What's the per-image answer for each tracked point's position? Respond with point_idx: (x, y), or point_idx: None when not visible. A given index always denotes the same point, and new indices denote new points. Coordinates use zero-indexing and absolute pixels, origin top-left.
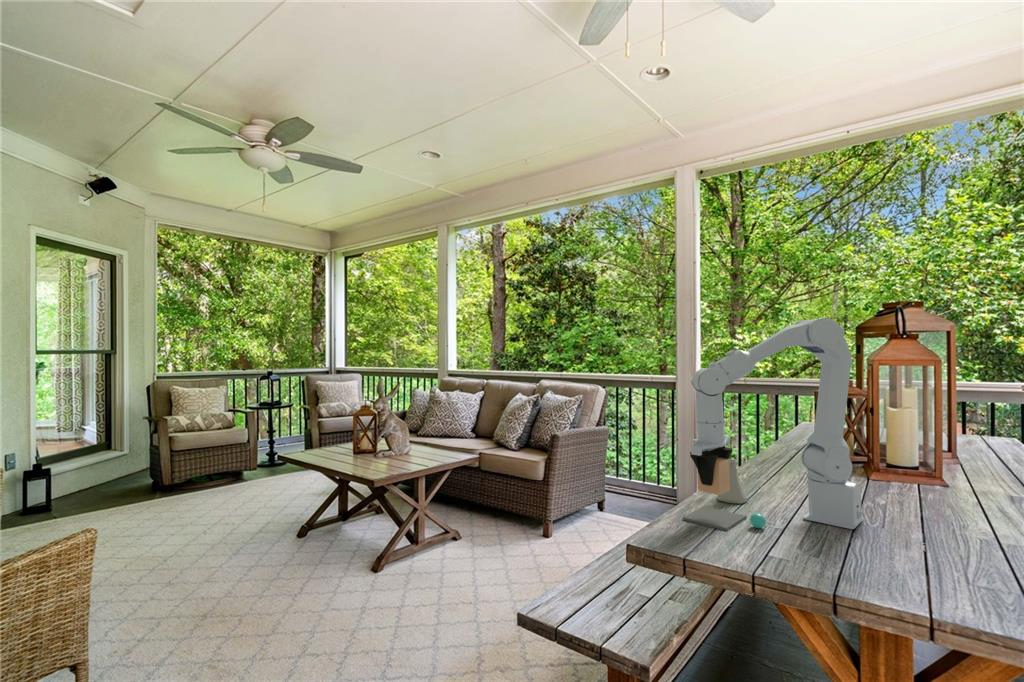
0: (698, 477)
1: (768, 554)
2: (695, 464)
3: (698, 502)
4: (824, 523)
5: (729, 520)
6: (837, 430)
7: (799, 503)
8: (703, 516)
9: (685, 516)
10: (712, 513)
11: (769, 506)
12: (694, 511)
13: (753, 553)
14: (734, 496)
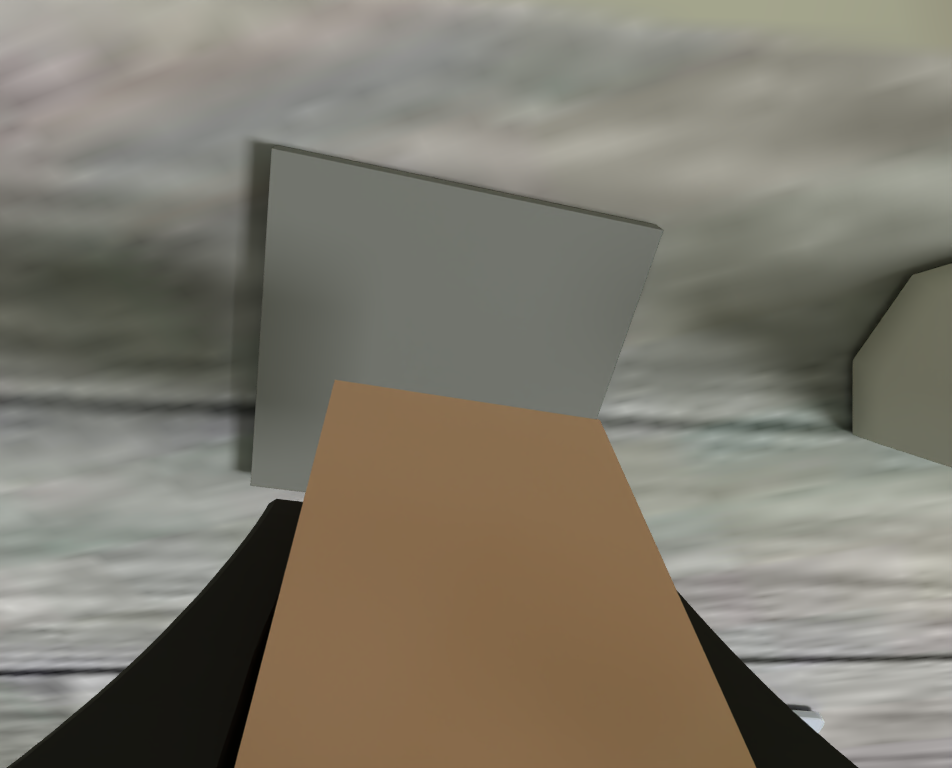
0: (306, 497)
1: (73, 676)
2: (52, 733)
3: (831, 129)
4: None
5: None
6: None
7: (938, 650)
8: (394, 300)
9: (302, 168)
10: (503, 339)
11: (847, 558)
12: (484, 199)
13: (27, 634)
14: (899, 417)
